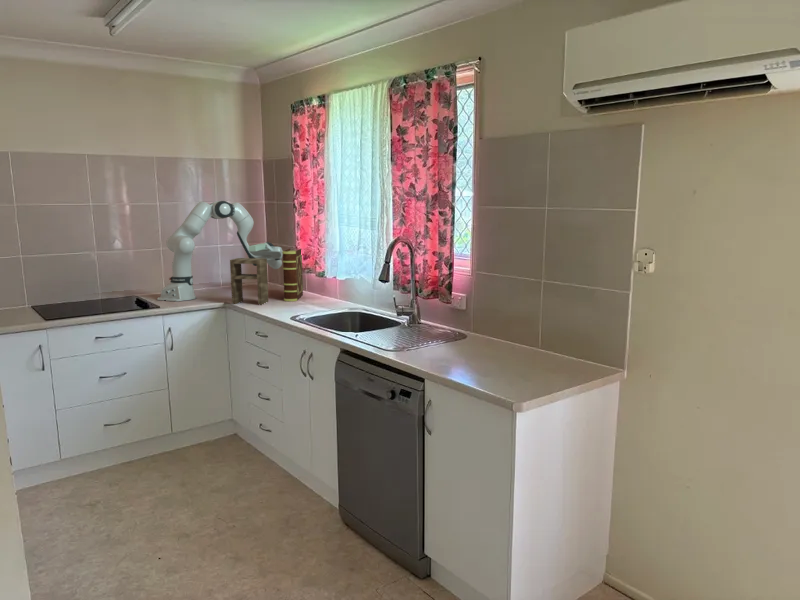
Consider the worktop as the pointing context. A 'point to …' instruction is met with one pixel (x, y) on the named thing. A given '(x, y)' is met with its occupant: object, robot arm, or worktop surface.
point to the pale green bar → (257, 247)
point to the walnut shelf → (238, 276)
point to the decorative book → (292, 275)
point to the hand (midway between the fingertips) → (262, 245)
